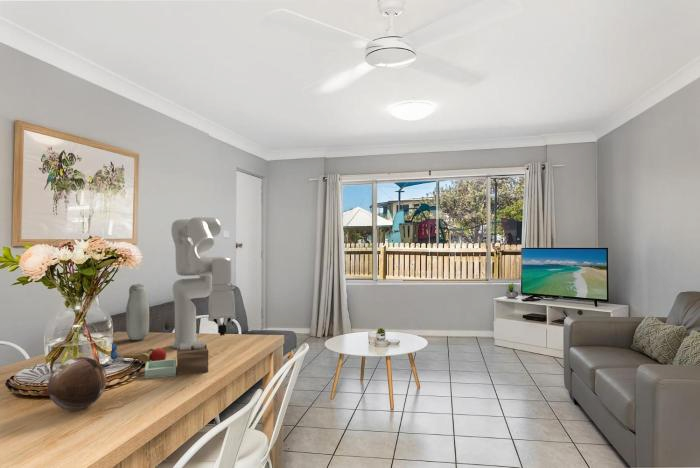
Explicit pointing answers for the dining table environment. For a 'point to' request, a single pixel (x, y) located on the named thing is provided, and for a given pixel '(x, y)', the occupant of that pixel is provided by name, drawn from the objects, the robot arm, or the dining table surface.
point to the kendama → (149, 355)
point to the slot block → (192, 361)
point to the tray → (160, 368)
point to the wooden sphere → (77, 383)
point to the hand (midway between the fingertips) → (222, 334)
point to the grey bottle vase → (137, 313)
